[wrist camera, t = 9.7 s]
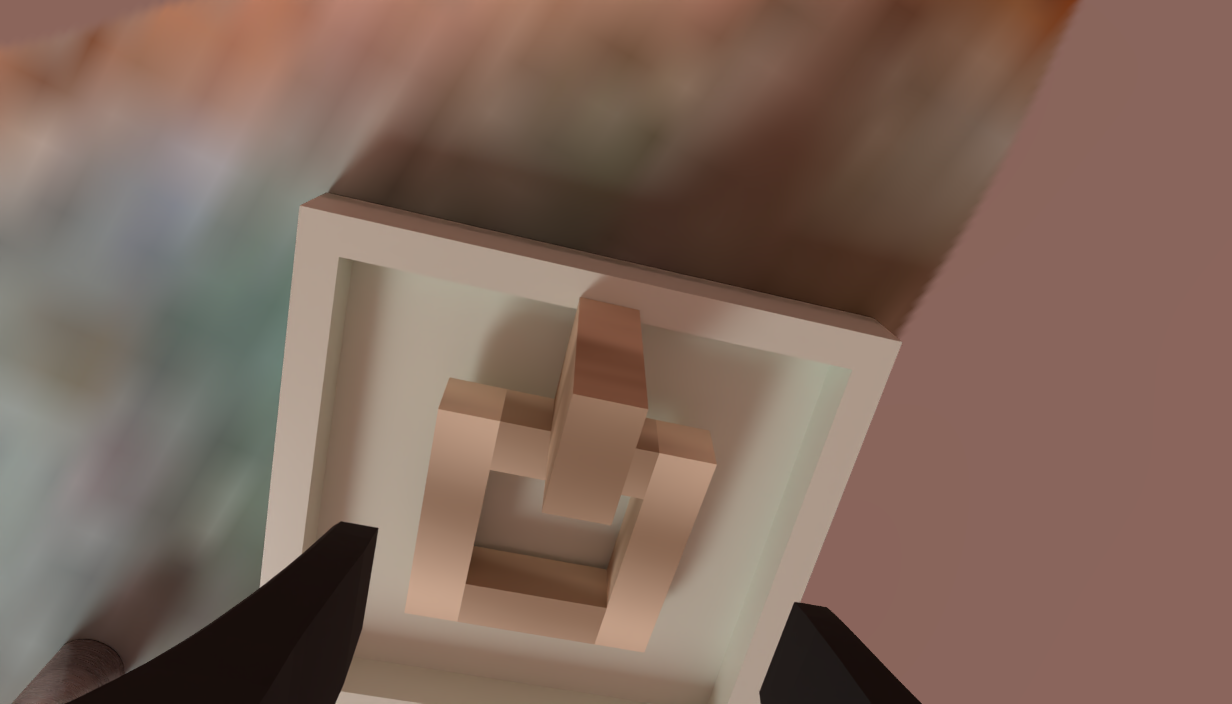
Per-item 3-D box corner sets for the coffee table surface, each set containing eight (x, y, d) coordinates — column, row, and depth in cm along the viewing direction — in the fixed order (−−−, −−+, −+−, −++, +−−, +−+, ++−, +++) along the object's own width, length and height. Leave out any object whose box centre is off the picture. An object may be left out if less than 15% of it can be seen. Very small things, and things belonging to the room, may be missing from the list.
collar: (642, 612, 24) (649, 748, 20) (416, 573, 23) (375, 707, 19) (745, 334, 19) (782, 436, 15) (467, 271, 18) (428, 364, 14)
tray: (721, 724, 26) (732, 774, 24) (273, 655, 24) (247, 704, 22) (873, 318, 21) (902, 341, 19) (326, 192, 19) (299, 205, 18)
